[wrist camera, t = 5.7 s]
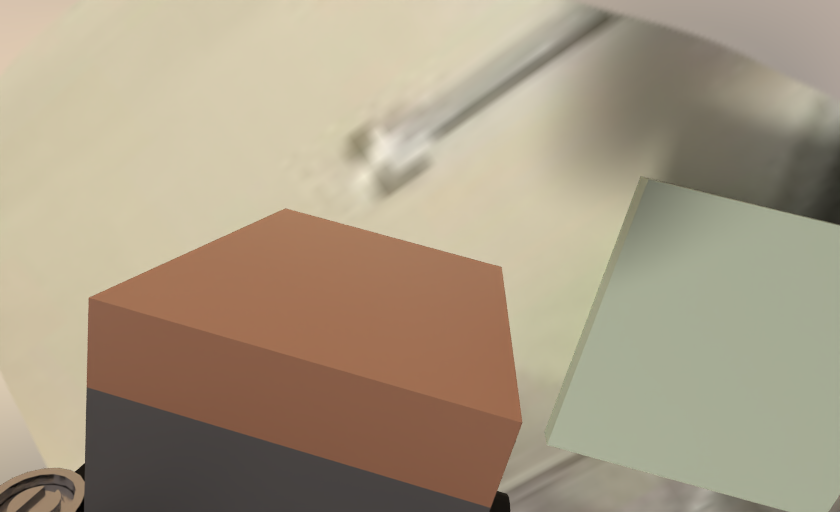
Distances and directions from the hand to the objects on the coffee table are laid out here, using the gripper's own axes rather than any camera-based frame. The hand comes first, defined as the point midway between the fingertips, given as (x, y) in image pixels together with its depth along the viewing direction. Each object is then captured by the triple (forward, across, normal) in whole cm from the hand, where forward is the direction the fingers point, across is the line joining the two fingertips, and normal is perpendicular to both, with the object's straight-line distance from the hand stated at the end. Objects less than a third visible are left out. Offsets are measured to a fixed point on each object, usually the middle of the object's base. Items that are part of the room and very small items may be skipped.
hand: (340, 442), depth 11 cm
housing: (+1, 0, 0) cm, 1 cm away
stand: (+17, -16, 0) cm, 23 cm away
